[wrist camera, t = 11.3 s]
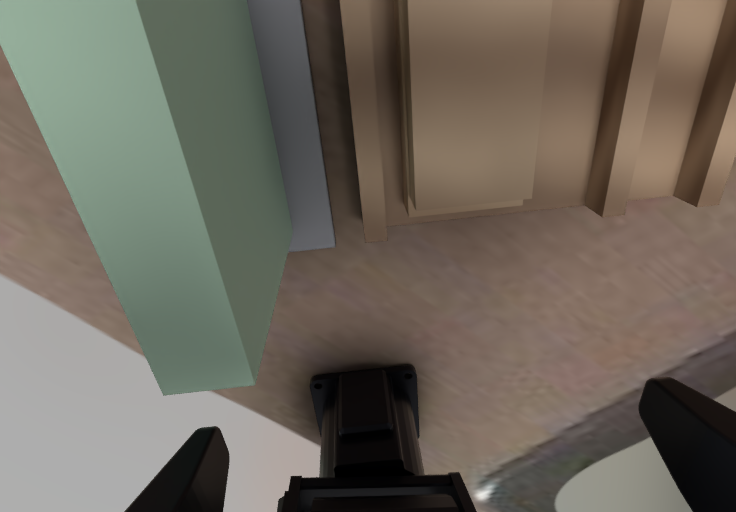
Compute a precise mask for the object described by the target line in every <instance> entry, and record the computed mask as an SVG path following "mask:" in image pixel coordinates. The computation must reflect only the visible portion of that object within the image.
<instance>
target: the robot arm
mask: <svg viewBox="0 0 736 512" xmlns="http://www.w3.org/2000/svg"><path fill="white" fill-rule="evenodd" d="M407 373H410V374H408V375H406V374H407ZM316 383H320V384H316ZM310 389H311V394H312V398H313V403H314V408H315V412H316V417H317V421H318V426H319V430H320V435H321V456H320V475H319V478H318V477H316V478H302V476H291V479H290V485H289V491H285V495H284V496H283V497H282V498H280V499H279V501H278V509H277V512H477V511H476V509H475V507H474V505H473V502H472V500H471V498H470V496H469V493H468V491H467V489H466V486H465V484H464V482H463V480H462V477H461V475H460V473H459V472H453V473H448V475H425V474H424V469H423V464H422V459H421V453H420V448H419V443H418V438H419V416H418V395H417V375H416V371H415V368H414V367H413V366H398V367H389V368H380V369H371V370H361V371H352V372H343V373H334V374H325V375H317V376H314V377H312V378H311V381H310ZM639 414H640V416H641V419H642V421H643V423H644V424H645V426H646V428H647V430H648V432H649V434H650V436H651V438H652V440H653V442H654V444H655V445H656V447H657V449H658V451H659V453H660V455H661V457H662V459H663V461H664V462H665V464H666V466H667V468H668V470H669V472H670V474H671V476H672V478H673V480H674V481H675V483H676V485H677V487H678V489H679V490H680V492H681V493H682V495H683V497H684V498H685V500H686V502H687V503H688V504H689V506H690V508H691V509H692V511H693V512H736V412H735V411H733V410H731V409H729V408H727V407H726V406H724V405H722V404H720V403H718V402H716V401H714V400H713V399H711V398H709V397H707V396H705V395H703V394H701V393H700V392H698V391H696V390H694V389H692V388H690V387H688V386H687V385H685V384H683V383H681V382H679V381H677V380H675V379H673V378H671V377H658V378H651V379H649V380H647V381H646V383H645V386H644V390H643V393H642V396H641V399H640V402H639ZM228 469H229V451H228V448H227V446H226V443H225V441H224V438H223V435H222V433H221V430H220V429H219V428H218V427H216V426H214V427H204V428H200V429H197V430H196V431H195V432H194V433H193V434H192V435H191V436H190V438H189V439H188V440H187V441H186V442H185V443H184V445H182V447H181V448H180V449H179V450H178V451H177V452H176V453H175V455H174V456H173V457H172V458H171V459H170V460H169V462H168V463H167V464H166V465H165V466H164V467H163V468H162V469H161V471H160V472H159V473H158V474H157V475H156V476H155V477H154V479H153V480H152V481H151V482H150V483H149V484H148V486H147V487H146V488H145V489H144V490H143V491H142V492H141V493H140V495H139V496H138V497H137V498H136V499H135V500H134V501H133V502H132V504H131V505H130V506H129V507H128V508H127V509H126V510H125V512H223V507H224V499H225V492H226V484H227V476H228Z"/></svg>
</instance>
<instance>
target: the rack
mask: <svg viewBox="0 0 736 512" xmlns="http://www.w3.org/2000/svg"><path fill="white" fill-rule="evenodd" d="M340 10H341V19H342V29H343V38H344V48H345V57H346V66H347V76H348V85H349V95H350V104H351V114H352V123H353V132H354V142H355V151H356V161H357V170H358V180H359V189H360V198H361V208H362V217H363V226H364V235H365V243H369V242H378V241H388V238H387V226H397V225H406V224H415V223H424V222H434V221H443V220H452V219H462V218H471V217H480V216H490V215H499V214H508V213H517V212H527V211H536V210H545V209H555V208H564V207H573V206H582V205H585V206H587V207H588V208H590V209H591V210H592V211H594V212H595V213H597V214H598V215H600V216H601V217H610V216H620V215H624V214H625V210H626V205H627V201H629V200H638V199H648V198H657V197H666V196H675V197H677V198H679V199H681V200H683V201H685V202H687V203H689V204H691V205H694V206H696V207H703V206H712V205H719V203H720V200H721V197H722V194H723V191H724V188H725V185H726V182H727V179H728V176H729V173H730V170H731V167H732V164H733V161H734V159H735V156H736V0H552V10H551V19H550V29H549V39H548V48H547V58H546V67H545V77H544V87H543V96H542V106H541V115H540V125H539V134H538V144H537V154H536V163H535V173H534V182H533V192H532V199H524V200H523V205H521V206H512V207H502V208H493V209H484V210H475V211H465V212H456V213H447V214H437V215H428V216H419V217H408V214H407V211H406V208H405V206H404V191H403V172H402V153H401V134H400V115H399V96H398V77H397V58H396V39H395V20H394V1H393V0H340Z"/></svg>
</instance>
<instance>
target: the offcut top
mask: <svg viewBox="0 0 736 512" xmlns="http://www.w3.org/2000/svg"><path fill="white" fill-rule="evenodd" d="M401 2H402V24H403V47H404V69H405V91H406V113H407V136H408V158H409V180H410V198H411V201H412V203H413V205H414V208H415V210H416V211H421V210H431V209H440V208H449V207H458V206H468V205H477V204H486V203H496V202H505V201H514V200H524V199H532V192H533V182H534V173H535V163H536V154H537V144H538V134H539V125H540V115H541V106H542V96H543V87H544V77H545V67H546V58H547V48H548V39H549V29H550V19H551V10H552V0H401Z"/></svg>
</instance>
